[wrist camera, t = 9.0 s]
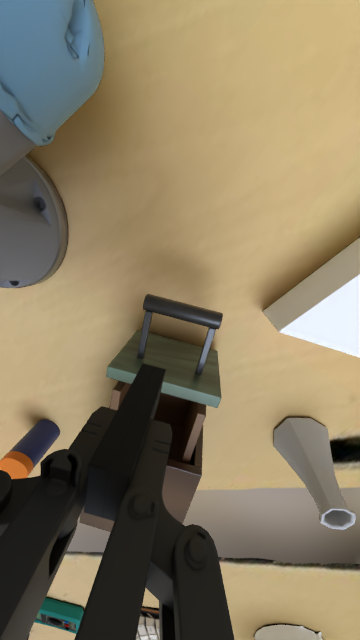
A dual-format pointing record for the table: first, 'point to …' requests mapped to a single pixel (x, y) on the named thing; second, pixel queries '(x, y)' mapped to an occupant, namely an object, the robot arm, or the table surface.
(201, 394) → the drawer
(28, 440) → the glue stick
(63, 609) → the digital multimeter
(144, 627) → the mechanical keyboard
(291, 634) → the white piece
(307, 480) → the flask
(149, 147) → the table surface
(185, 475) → the cabinet
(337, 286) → the triangle block
